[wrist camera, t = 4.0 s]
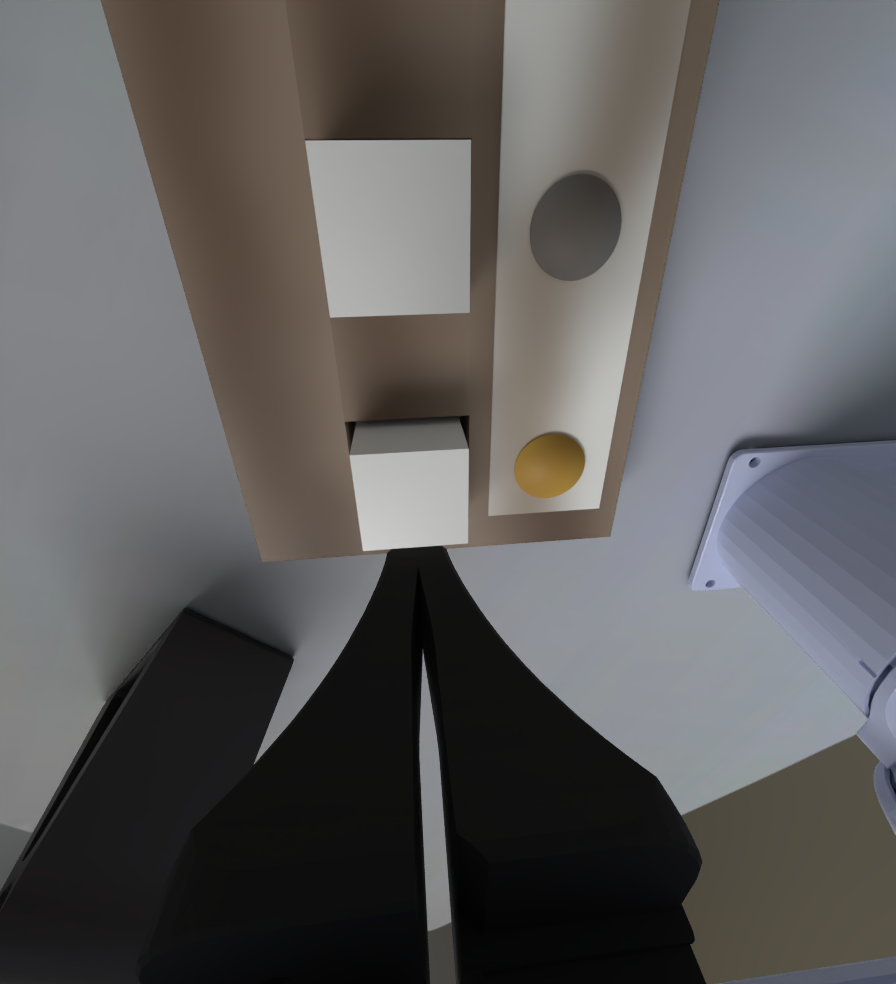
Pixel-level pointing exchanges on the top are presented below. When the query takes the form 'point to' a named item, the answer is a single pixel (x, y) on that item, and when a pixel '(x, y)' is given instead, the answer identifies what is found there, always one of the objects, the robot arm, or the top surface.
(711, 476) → the top surface
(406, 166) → the button middle
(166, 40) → the button board
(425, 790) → the top surface
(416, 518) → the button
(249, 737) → the phone stand
